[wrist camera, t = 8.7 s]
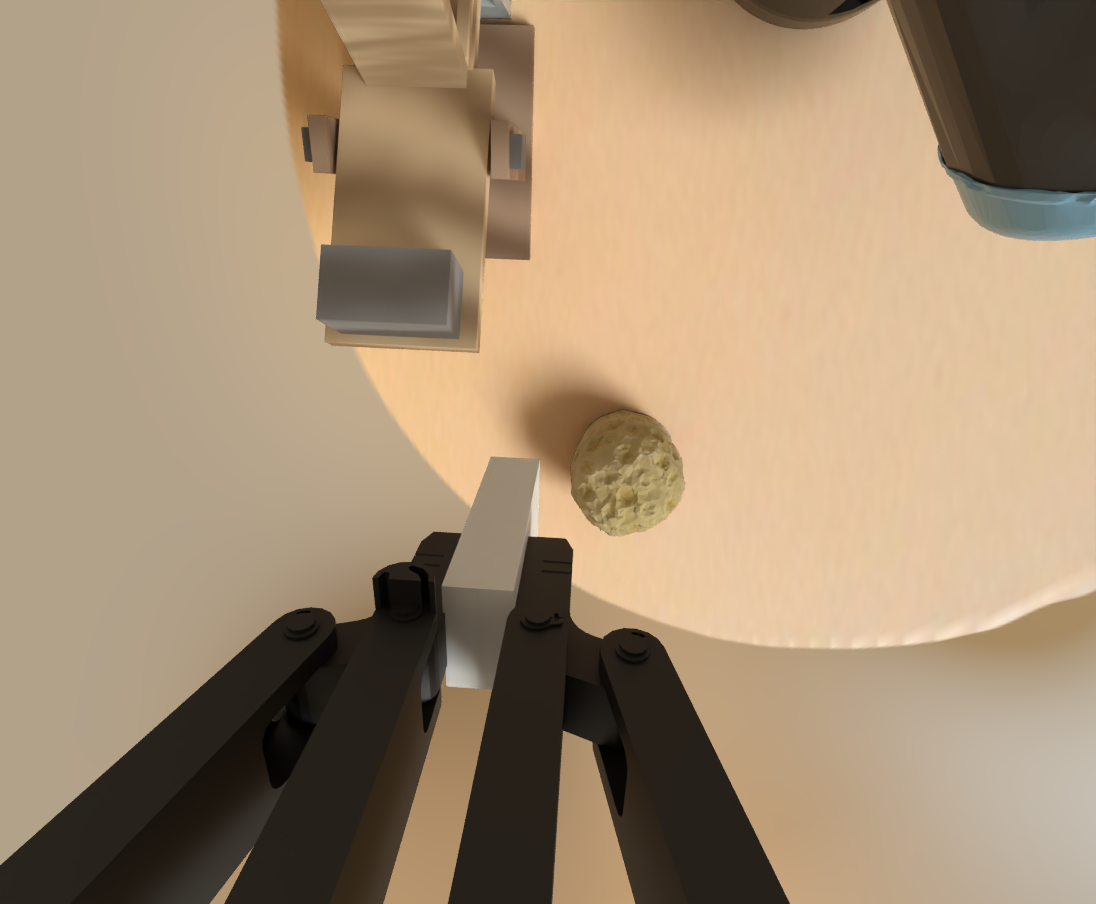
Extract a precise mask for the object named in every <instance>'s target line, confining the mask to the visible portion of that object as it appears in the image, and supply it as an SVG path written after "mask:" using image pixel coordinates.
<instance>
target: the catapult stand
mask: <svg viewBox="0 0 1096 904" xmlns="http://www.w3.org/2000/svg"><path fill="white" fill-rule="evenodd" d="M534 30H535V28H534V26H533V25H489V24H480V30H479V46H478V62H477V69H493V71H494V76H495V81H496V87H495V103H494V120H491V169H490V185H489V201H488V218H487V234H486V250H485V258H493V259H517V260H530V236H531V184H532V133H533V81H534ZM355 66H356V65H355ZM307 118H308V126H309V128H308V127H301V129H302V138H303V146H304V155H305V161H307V162H313V171H314V173H330V174H336V166H337V152H338V137H339V122H340V120H339V119H336V118H332V117H329V116H325V115H307Z"/></svg>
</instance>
